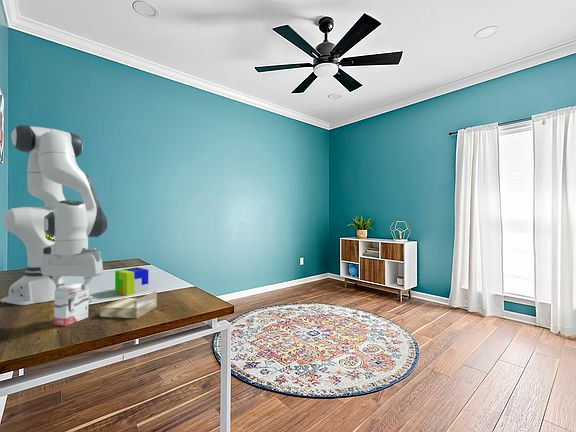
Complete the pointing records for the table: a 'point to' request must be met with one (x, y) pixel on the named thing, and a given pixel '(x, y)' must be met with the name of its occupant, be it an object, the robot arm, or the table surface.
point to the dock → (130, 307)
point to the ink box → (70, 304)
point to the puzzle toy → (131, 281)
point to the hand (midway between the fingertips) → (72, 289)
